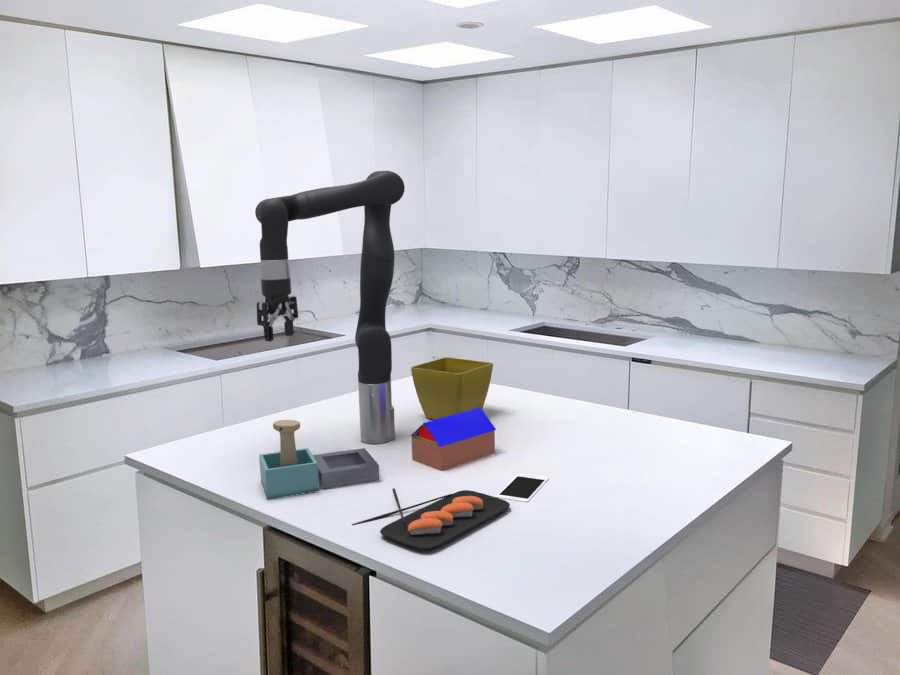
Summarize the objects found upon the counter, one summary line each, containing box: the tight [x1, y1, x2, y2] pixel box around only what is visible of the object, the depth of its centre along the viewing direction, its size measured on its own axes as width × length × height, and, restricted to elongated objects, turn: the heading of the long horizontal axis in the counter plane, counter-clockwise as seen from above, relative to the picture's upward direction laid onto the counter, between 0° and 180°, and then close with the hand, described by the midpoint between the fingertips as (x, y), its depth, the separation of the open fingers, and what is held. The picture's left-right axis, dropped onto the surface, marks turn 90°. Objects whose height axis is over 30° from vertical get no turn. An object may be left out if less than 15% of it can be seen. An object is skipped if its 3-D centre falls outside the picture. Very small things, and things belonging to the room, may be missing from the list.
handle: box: [272, 419, 301, 467], centre depth 180 cm, size 5×6×15 cm
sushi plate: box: [351, 487, 511, 551], centre depth 164 cm, size 29×30×4 cm
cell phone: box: [495, 473, 550, 503], centre depth 178 cm, size 8×16×1 cm, turn 155°
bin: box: [258, 447, 320, 500], centre depth 181 cm, size 12×12×7 cm
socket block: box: [312, 447, 380, 490], centre depth 188 cm, size 14×14×4 cm
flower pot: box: [410, 356, 494, 420], centre depth 236 cm, size 19×19×17 cm
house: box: [410, 407, 497, 472], centre depth 199 cm, size 12×20×12 cm, turn 132°
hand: (279, 338), depth 199 cm, fingers open, 8 cm apart
